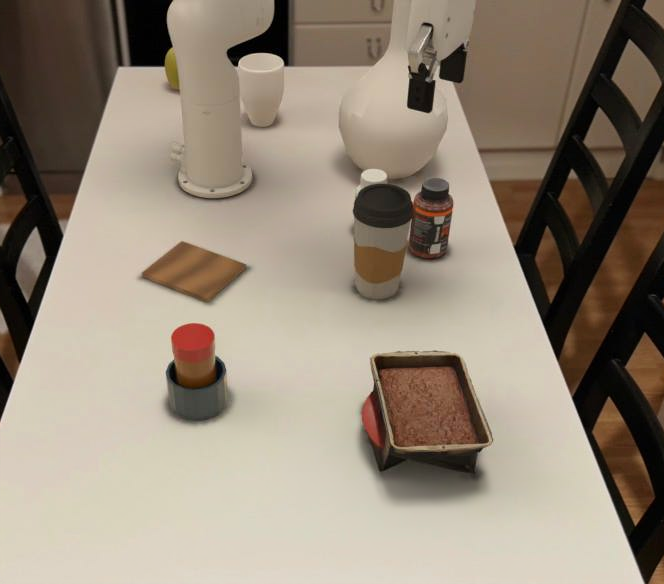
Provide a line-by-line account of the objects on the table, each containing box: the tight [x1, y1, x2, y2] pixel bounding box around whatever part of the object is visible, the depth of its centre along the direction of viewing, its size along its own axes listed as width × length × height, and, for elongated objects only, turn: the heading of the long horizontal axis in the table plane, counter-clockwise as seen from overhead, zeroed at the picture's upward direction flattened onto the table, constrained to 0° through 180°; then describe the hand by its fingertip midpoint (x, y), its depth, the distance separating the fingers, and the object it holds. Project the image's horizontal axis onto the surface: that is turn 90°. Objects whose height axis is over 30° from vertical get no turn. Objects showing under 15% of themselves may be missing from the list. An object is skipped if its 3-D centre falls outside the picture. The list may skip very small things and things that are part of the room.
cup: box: [165, 355, 229, 422], centre depth 115 cm, size 7×7×5 cm
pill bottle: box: [354, 169, 388, 200], centre depth 142 cm, size 5×5×10 cm
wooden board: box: [141, 240, 247, 303], centre depth 137 cm, size 12×10×1 cm
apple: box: [164, 46, 180, 92], centre depth 180 cm, size 8×8×10 cm
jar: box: [170, 322, 217, 389], centre depth 113 cm, size 5×5×10 cm
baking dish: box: [361, 350, 494, 475], centre depth 109 cm, size 14×18×10 cm
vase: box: [338, 0, 449, 180], centre depth 150 cm, size 18×18×30 cm
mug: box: [237, 52, 285, 128], centre depth 170 cm, size 12×8×11 cm
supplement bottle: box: [408, 177, 455, 259], centre depth 137 cm, size 6×6×11 cm
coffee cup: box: [352, 183, 413, 300], centre depth 129 cm, size 8×8×15 cm
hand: (435, 94), depth 115 cm, fingers open, 9 cm apart
